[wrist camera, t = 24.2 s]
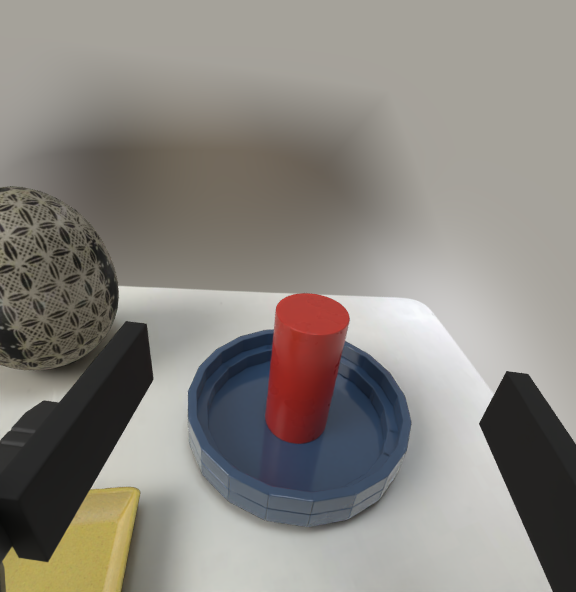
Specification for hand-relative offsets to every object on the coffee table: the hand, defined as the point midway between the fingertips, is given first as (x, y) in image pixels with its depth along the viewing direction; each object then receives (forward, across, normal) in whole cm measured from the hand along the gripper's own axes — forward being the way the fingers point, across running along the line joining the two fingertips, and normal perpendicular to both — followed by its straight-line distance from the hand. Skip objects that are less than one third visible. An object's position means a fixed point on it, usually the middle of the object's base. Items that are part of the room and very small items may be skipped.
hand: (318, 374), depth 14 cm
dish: (+10, 0, -14) cm, 17 cm away
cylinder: (+10, 0, -14) cm, 17 cm away
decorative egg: (+14, -22, -14) cm, 30 cm away
